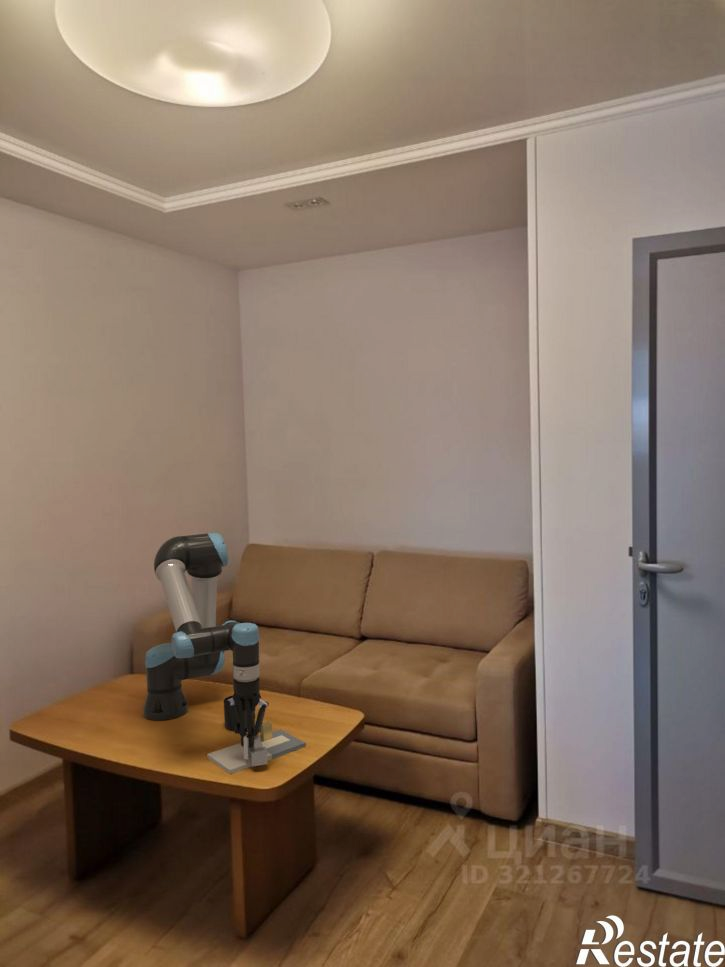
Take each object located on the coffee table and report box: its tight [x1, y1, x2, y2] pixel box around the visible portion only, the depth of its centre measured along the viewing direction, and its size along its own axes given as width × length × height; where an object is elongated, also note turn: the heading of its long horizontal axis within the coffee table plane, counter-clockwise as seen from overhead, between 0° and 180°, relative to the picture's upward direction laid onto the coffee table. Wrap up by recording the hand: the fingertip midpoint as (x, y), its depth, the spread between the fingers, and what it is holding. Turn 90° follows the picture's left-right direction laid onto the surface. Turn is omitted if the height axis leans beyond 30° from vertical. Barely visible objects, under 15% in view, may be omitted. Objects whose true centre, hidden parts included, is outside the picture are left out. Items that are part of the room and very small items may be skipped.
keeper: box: [259, 721, 273, 742], centre depth 227 cm, size 2×3×5 cm
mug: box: [223, 694, 248, 732], centre depth 241 cm, size 9×12×9 cm
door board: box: [206, 728, 306, 775], centre depth 221 cm, size 14×26×7 cm, turn 129°
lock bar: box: [250, 734, 269, 767], centre depth 214 cm, size 11×4×4 cm, turn 16°
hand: (247, 757), depth 213 cm, fingers closed
